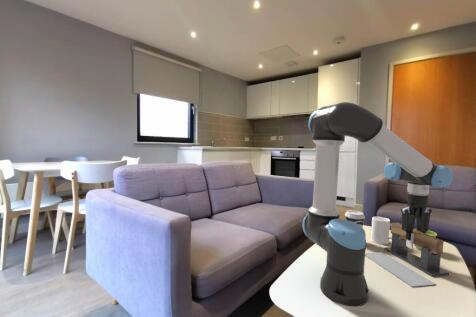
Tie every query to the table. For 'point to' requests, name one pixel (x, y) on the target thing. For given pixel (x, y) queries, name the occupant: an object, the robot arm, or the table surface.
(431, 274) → the stand
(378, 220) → the mug
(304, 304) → the table surface
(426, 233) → the plant pot
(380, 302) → the table surface
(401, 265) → the mat
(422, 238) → the rail
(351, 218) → the coffee cup
